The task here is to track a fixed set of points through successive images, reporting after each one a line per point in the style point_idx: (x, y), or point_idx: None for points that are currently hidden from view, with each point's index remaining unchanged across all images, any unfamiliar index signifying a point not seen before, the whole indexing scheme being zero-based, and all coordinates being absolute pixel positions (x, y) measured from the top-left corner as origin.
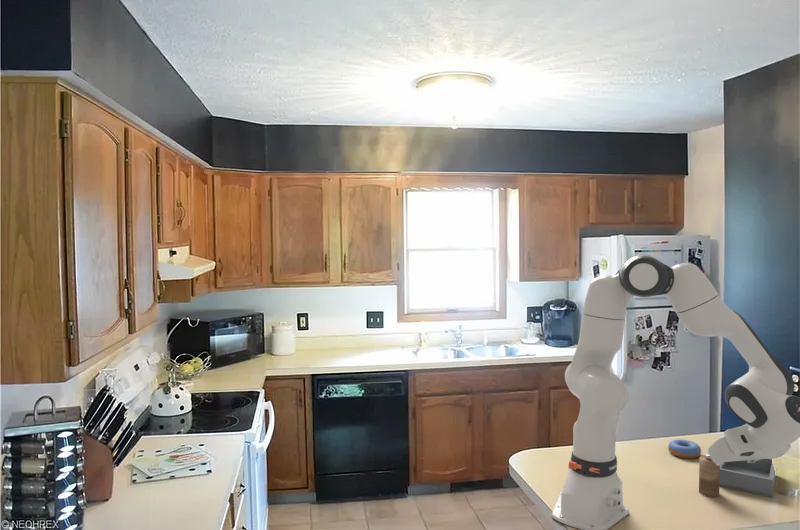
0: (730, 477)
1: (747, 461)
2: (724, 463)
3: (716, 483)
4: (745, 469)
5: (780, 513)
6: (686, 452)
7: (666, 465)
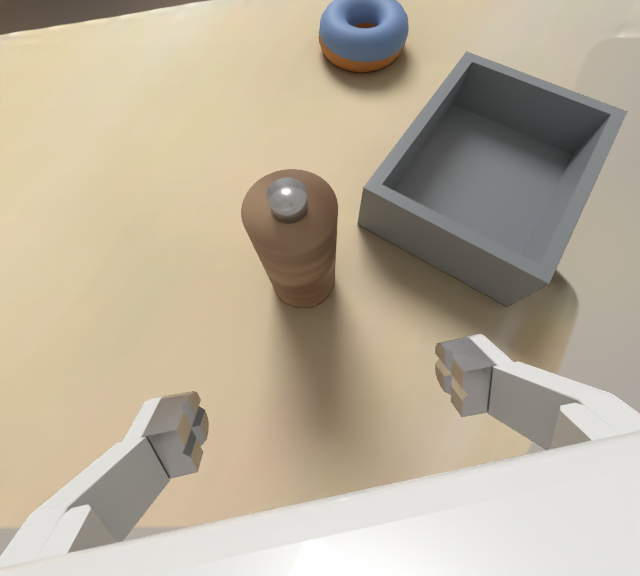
0: (400, 223)
1: (437, 369)
2: (194, 470)
3: (310, 289)
4: (495, 134)
5: (486, 433)
6: (351, 53)
7: (271, 110)
